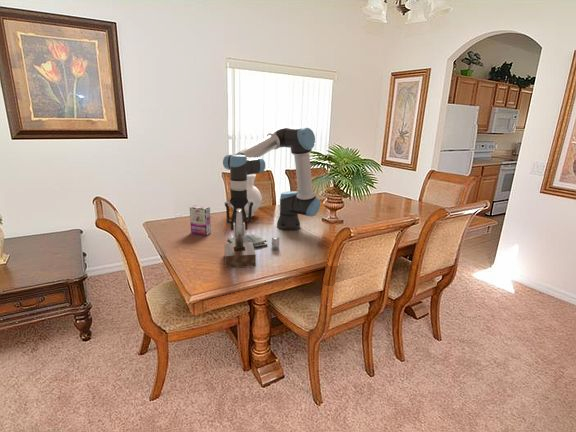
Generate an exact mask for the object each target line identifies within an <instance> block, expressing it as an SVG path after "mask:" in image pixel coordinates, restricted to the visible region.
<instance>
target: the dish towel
mask: <svg viewBox="0 0 576 432" xmlns="http://www.w3.org/2000/svg"><path fill="white" fill-rule="evenodd" d="M227 242H228V243H235V238H234V237H231V238H227ZM247 242H252V244H253V247H254V250H255V248H256V249H261V248H265V247H268V244H267V242H268V241H267V240H266V239H264V238H263V237H261V236H259V235H258V234H256V233H252V234H245V237H244V243H247Z"/></svg>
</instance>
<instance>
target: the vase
mask: <svg viewBox="0 0 576 432" xmlns="http://www.w3.org/2000/svg"><path fill="white" fill-rule="evenodd" d="M256 176H257V175H256V174H250V175H247V188H246V190H247V199H248V201H250V202H251V201H252V202H253V206H252V215H251V218H252V217H254V216H255V212H256V211H258V210H259V208H260V206H261V205H262V201H263V200H262V199H263V198H262V194H261V192H260V190H259V189H258V187H256V186H255V185H254V182H255V179H256ZM230 199H231V196H230ZM230 199H229V200H230ZM230 206H231V208H232V209H233V208H234V207H233V206H232V204H231V203H230ZM244 209H245V214H246V218H247V219H248V213H249V206H248V203H247V204H246V205H245V207H244ZM237 210H242V209H240V208H239V209H237Z"/></svg>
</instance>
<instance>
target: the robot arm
mask: <svg viewBox="0 0 576 432" xmlns="http://www.w3.org/2000/svg"><path fill="white" fill-rule="evenodd" d="M315 143H316V137H315V133H314V131H313V130H312V129H311V128H310V127H305V126H289V125H287V126H283V127H280V128H277V129H275V130H273V131H271V132H269V133H268V134H267V135H266V137H264V138H262V139H260V140H258V141H257V142H255V143H253V144H252V145H250V146H247V147H246V148H244V149H242V150H241V151H239V152H237V153H235V154H226V155H225V156H224V157H223V160H222V165H223V168H225V169H226V170H229V174H230V176H229V177H230V184H229V185H230V197H231V199H229V201H225V202H224V206H225V208H226V209H225V210H226V222H227V224H230V231H233V238H235V214H236V210H237V209H239V208H240V209H242V211H243V237H245V235H246V231H247V230H248V224H249V223H252V217H251V215H252V206H253V202H252V201H251V202H250V201H248V199H247V190H246V188H247V175H250V174H255V175H256V174H260V173H263V172H264V171H265V169H266V161H265V160H264V159H263V158H262V157H263V156H264V155H266V154H267V153H269V152H271V151H273V150H278V149H279V148H289V149H290V152H291V153H290V154H292V155H293V156H294V163H295V164H294V165H295V172H296V173H295V174H296V180H297V181H296V182H297V190H298V191H295V190H293V191H292V190H289V191H283V192H281V193H280V198H279V216H278V218H277V223H276V228H277V229H279V230H284V231H295V230H299V229H300V228H301V221H300V219H299V215H302V216H306V217H315V216H317V214H318V213H319V211H320V208H321V199H320V198H318V197H317V196H316V193H315V191H314V190H313V179H312V168H311V167H312V166H311V157H310V154H311V152H312V149H314V147H315ZM247 203H248V206H249V213H248V218H247V217H246V214H245V209H244V207H245V205H246V204H247ZM231 204H232V206H233V207H234V208H232V215H231V218H230V206H231ZM232 206H231V207H232Z"/></svg>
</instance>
